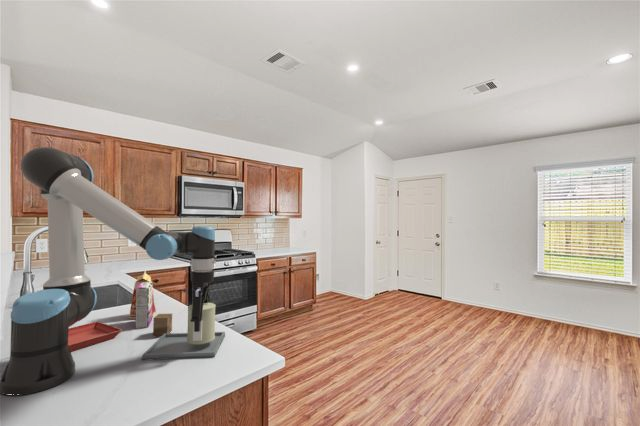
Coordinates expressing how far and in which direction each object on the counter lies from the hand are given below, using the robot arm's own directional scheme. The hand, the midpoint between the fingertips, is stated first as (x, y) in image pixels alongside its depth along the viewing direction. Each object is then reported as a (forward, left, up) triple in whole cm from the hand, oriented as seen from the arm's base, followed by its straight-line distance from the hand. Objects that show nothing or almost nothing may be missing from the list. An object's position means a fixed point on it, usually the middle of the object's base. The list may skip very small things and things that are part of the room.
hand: (201, 334), depth 106 cm
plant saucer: (+9, +43, -5) cm, 45 cm away
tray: (0, +4, -4) cm, 6 cm away
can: (0, 0, -2) cm, 2 cm away
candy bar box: (+25, +29, -4) cm, 39 cm away
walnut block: (+13, +17, -4) cm, 22 cm away
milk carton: (+36, +34, -4) cm, 50 cm away
